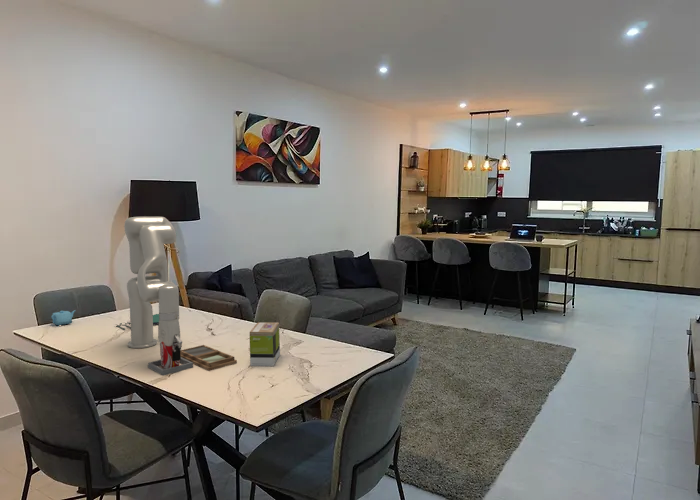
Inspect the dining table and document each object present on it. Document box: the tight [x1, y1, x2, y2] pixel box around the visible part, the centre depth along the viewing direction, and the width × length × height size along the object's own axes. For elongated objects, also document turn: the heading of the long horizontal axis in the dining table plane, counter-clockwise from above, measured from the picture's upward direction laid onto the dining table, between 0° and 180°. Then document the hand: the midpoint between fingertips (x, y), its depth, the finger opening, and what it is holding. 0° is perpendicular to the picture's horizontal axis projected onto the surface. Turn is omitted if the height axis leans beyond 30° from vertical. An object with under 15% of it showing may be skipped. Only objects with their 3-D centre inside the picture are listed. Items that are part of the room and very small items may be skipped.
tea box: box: [249, 322, 281, 367], centre depth 204 cm, size 15×10×15 cm
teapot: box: [51, 309, 76, 326], centre depth 258 cm, size 12×6×8 cm, turn 139°
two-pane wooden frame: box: [180, 344, 238, 372], centre depth 204 cm, size 25×13×3 cm, turn 48°
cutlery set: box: [115, 313, 159, 331], centre depth 263 cm, size 20×30×2 cm, turn 134°
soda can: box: [160, 342, 181, 369], centre depth 194 cm, size 7×7×12 cm
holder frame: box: [147, 357, 194, 376], centre depth 194 cm, size 13×13×2 cm
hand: (170, 357), depth 194 cm, fingers open, 9 cm apart
